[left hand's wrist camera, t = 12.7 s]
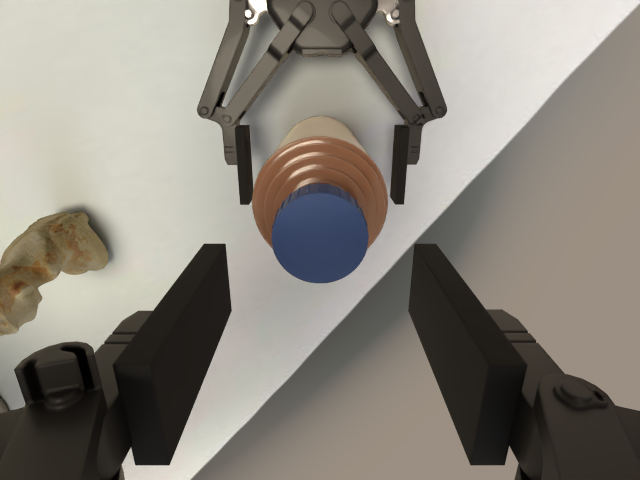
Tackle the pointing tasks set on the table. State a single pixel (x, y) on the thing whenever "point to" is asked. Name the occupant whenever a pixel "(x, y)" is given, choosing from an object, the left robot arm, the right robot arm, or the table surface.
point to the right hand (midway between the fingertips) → (321, 201)
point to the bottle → (320, 172)
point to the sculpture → (44, 263)
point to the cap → (320, 233)
